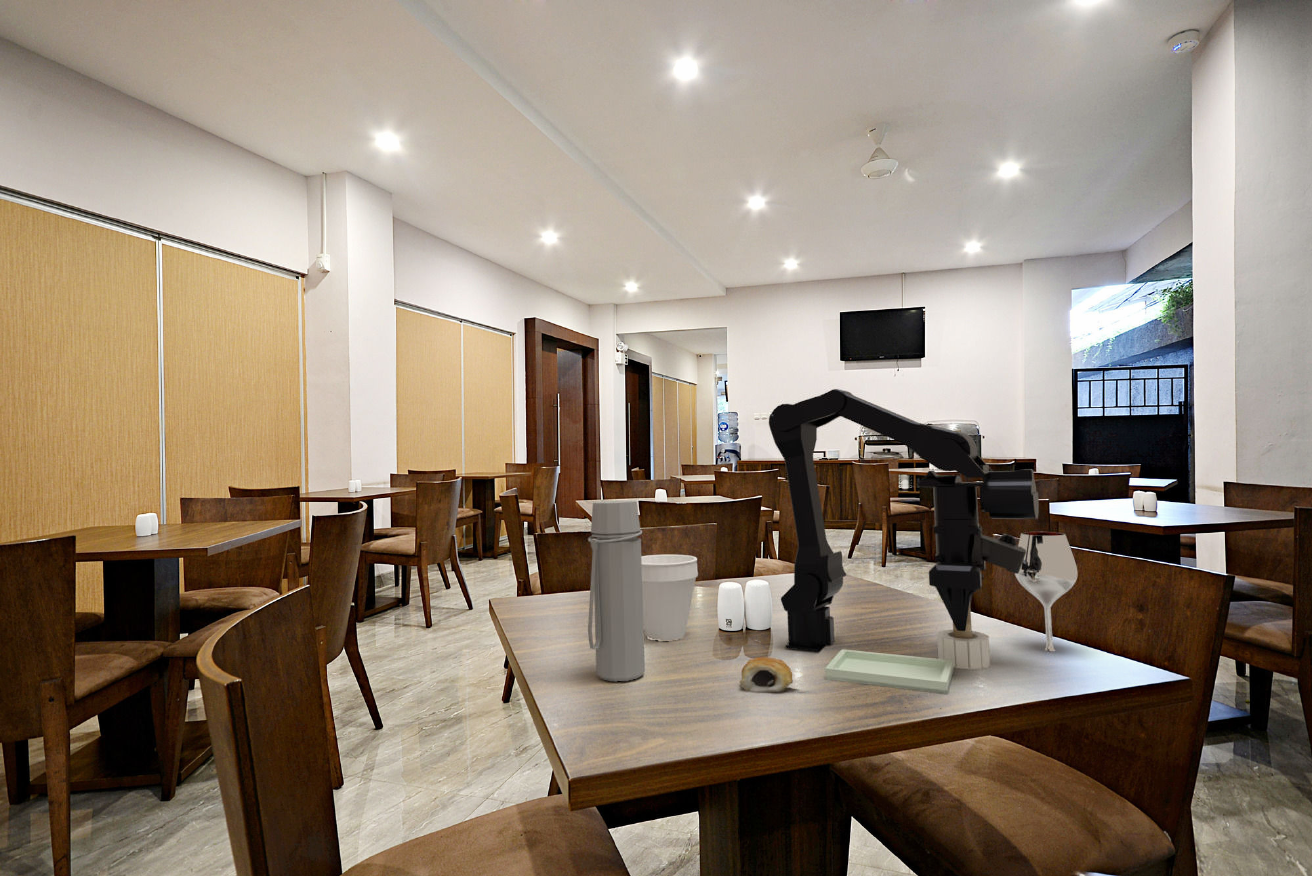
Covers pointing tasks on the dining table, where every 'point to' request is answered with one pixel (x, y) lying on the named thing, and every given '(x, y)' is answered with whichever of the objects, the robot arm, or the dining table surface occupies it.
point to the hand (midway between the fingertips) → (962, 627)
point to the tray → (891, 671)
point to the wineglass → (1047, 571)
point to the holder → (964, 650)
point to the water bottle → (617, 591)
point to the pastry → (766, 675)
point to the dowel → (968, 632)
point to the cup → (667, 594)
